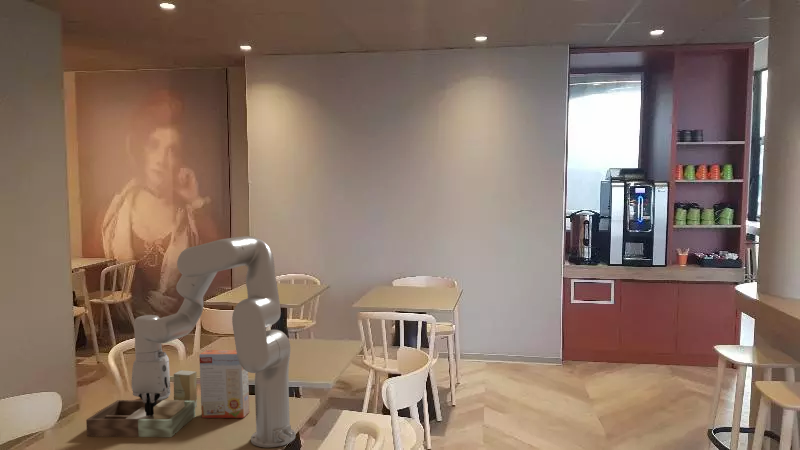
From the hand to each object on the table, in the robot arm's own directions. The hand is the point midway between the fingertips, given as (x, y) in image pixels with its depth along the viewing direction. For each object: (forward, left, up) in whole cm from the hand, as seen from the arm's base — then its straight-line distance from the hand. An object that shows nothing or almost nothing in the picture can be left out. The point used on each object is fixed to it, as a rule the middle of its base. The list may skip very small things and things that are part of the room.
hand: (151, 414), depth 185 cm
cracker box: (-9, -20, -4) cm, 23 cm away
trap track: (+2, +2, -4) cm, 5 cm away
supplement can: (+25, -12, -4) cm, 28 cm away
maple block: (-4, -4, -1) cm, 6 cm away
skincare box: (+7, -14, -4) cm, 16 cm away
